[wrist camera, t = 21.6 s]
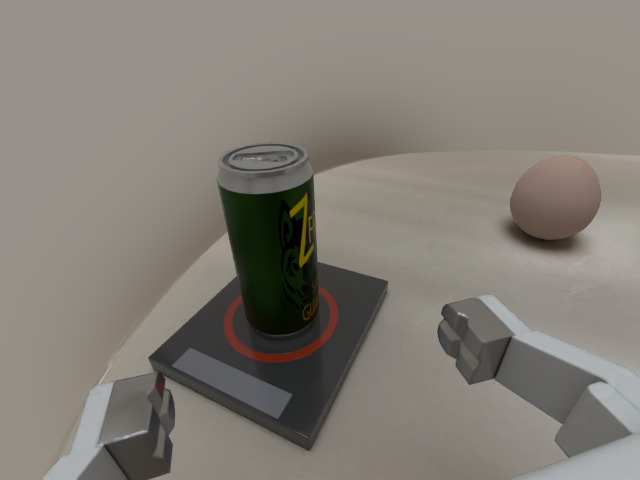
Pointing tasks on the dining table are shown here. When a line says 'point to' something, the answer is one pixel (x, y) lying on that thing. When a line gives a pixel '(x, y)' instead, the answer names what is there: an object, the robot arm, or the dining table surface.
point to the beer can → (272, 235)
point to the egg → (556, 198)
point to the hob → (275, 355)
